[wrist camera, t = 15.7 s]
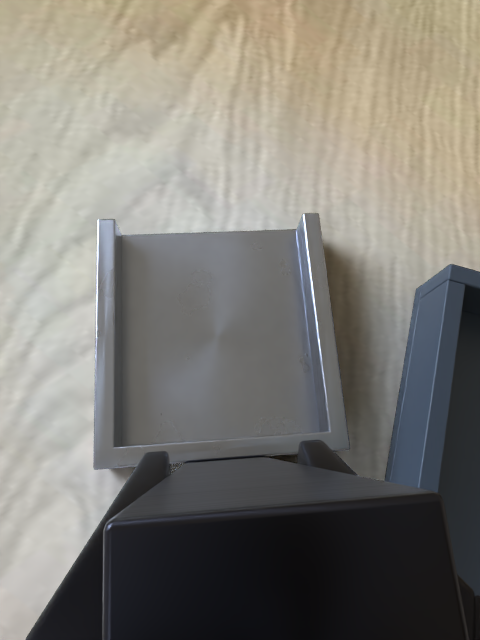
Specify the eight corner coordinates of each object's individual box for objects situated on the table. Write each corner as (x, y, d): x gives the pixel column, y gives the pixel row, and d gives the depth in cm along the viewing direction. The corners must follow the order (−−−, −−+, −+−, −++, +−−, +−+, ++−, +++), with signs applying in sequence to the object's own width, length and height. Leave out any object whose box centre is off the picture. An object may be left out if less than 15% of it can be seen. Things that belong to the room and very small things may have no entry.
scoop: (345, 527, 14) (927, 872, 3) (104, 549, 14) (-472, 1123, 2) (309, 233, 17) (519, -211, 6) (107, 240, 16) (-132, -246, 5)
